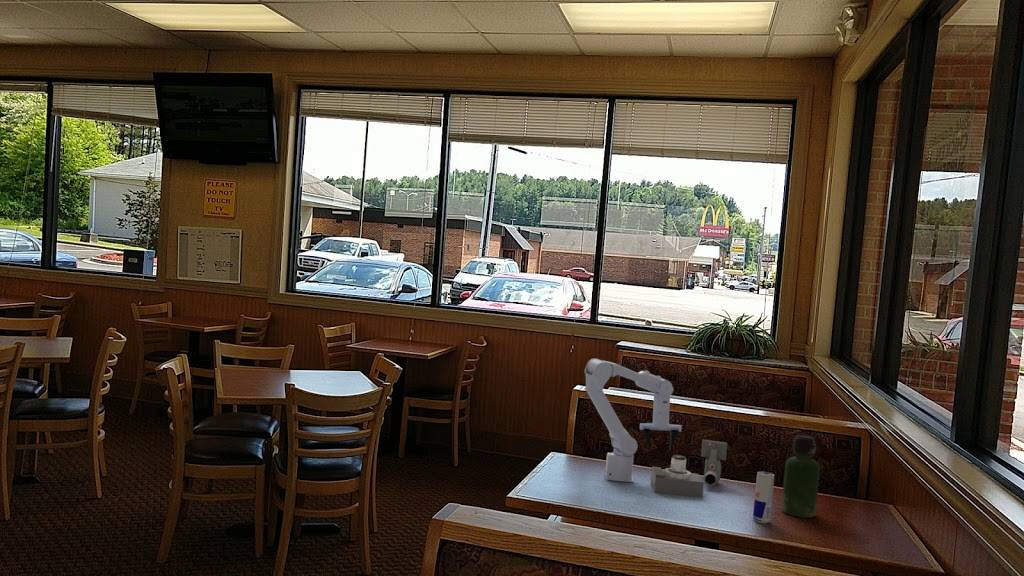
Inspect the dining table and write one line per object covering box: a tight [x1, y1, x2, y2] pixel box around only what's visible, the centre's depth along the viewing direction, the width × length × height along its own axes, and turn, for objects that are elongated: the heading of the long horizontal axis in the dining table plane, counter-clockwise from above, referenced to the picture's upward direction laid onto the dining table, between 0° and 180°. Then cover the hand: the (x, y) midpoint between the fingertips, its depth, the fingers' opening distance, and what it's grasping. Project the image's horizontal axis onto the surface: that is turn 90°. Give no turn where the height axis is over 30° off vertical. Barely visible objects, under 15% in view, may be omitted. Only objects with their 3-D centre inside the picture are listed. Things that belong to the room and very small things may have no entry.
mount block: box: [650, 466, 705, 498], centre depth 276 cm, size 16×11×6 cm
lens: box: [670, 454, 687, 474], centre depth 276 cm, size 5×5×7 cm
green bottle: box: [780, 434, 821, 519], centre depth 260 cm, size 10×10×25 cm
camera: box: [700, 439, 728, 487], centre depth 287 cm, size 9×12×15 cm
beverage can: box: [752, 471, 775, 524], centre depth 248 cm, size 5×5×15 cm
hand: (659, 450), depth 289 cm, fingers open, 7 cm apart
